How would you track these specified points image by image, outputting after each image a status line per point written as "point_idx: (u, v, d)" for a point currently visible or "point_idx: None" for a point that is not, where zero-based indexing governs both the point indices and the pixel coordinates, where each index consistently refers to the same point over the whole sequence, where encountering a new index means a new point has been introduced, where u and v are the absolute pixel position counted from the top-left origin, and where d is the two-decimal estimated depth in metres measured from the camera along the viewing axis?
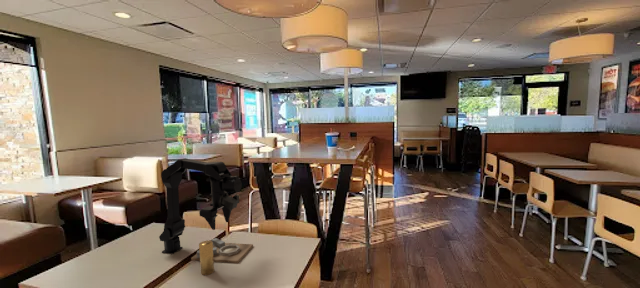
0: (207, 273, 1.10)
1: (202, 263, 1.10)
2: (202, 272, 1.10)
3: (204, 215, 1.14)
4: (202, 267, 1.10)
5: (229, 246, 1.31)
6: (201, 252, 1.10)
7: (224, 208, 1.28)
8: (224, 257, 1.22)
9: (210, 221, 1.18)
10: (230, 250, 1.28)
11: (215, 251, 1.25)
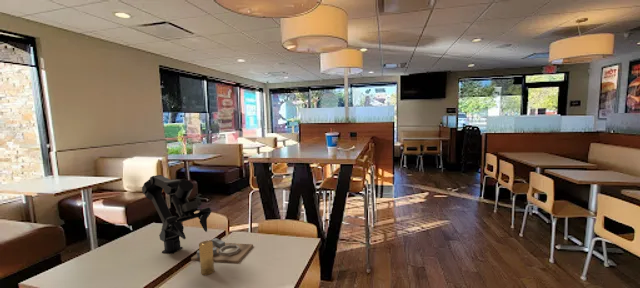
0: (207, 273, 1.10)
1: (202, 263, 1.10)
2: (202, 272, 1.10)
3: (165, 226, 1.12)
4: (202, 267, 1.10)
5: (229, 246, 1.31)
6: (201, 252, 1.10)
7: (200, 220, 1.23)
8: (224, 257, 1.22)
9: (178, 231, 1.14)
10: (230, 250, 1.28)
11: (215, 251, 1.25)
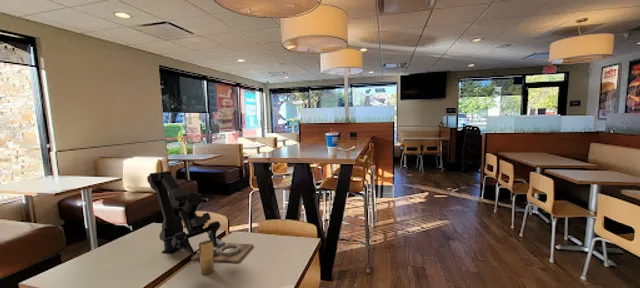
0: (207, 273, 1.10)
1: (202, 263, 1.10)
2: (202, 272, 1.10)
3: (174, 242, 1.08)
4: (202, 267, 1.10)
5: (229, 246, 1.31)
6: (201, 252, 1.10)
7: (209, 235, 1.19)
8: (224, 257, 1.22)
9: (186, 248, 1.10)
10: (230, 250, 1.28)
11: (215, 251, 1.25)
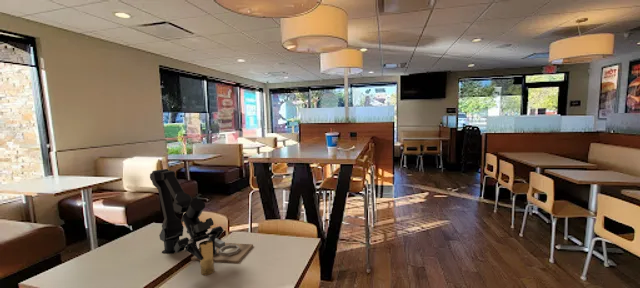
0: (207, 273, 1.10)
1: (202, 263, 1.10)
2: (202, 272, 1.10)
3: (177, 248, 1.07)
4: (202, 267, 1.10)
5: (229, 246, 1.31)
6: (201, 252, 1.10)
7: None
8: (224, 257, 1.22)
9: (194, 252, 1.10)
10: (230, 250, 1.28)
11: (215, 251, 1.25)
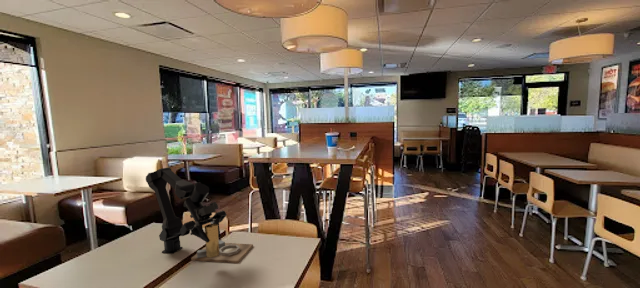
0: (213, 255, 1.13)
1: (208, 245, 1.12)
2: (208, 254, 1.13)
3: (183, 231, 1.09)
4: (208, 249, 1.12)
5: (229, 246, 1.31)
6: (207, 234, 1.12)
7: None
8: (224, 257, 1.22)
9: (200, 235, 1.12)
10: (230, 250, 1.28)
11: None
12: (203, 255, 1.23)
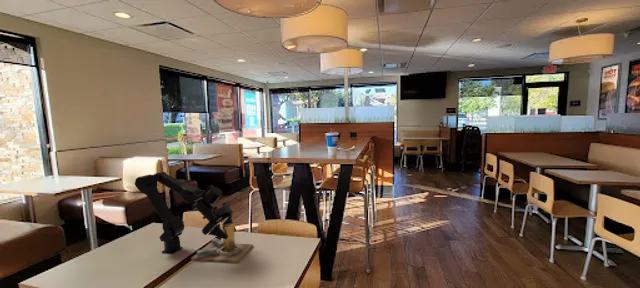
0: (232, 250, 1.26)
1: (228, 242, 1.25)
2: (227, 251, 1.26)
3: (207, 230, 1.18)
4: (228, 246, 1.25)
5: None
6: (227, 233, 1.25)
7: (225, 223, 1.32)
8: (224, 257, 1.22)
9: (218, 233, 1.22)
10: None
11: (215, 251, 1.25)
12: (203, 255, 1.23)
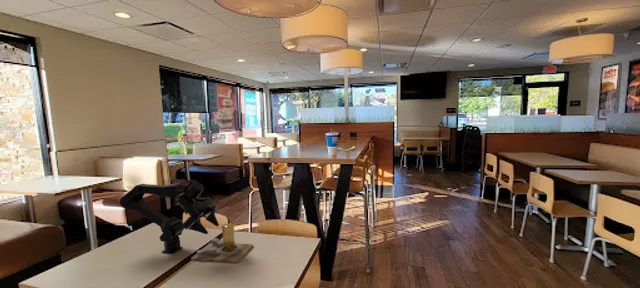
0: None
1: (228, 243, 1.25)
2: (227, 251, 1.26)
3: (188, 225, 1.20)
4: (228, 246, 1.25)
5: None
6: (227, 233, 1.25)
7: (208, 218, 1.34)
8: (224, 257, 1.22)
9: (199, 228, 1.23)
10: None
11: (215, 251, 1.25)
12: (203, 255, 1.23)
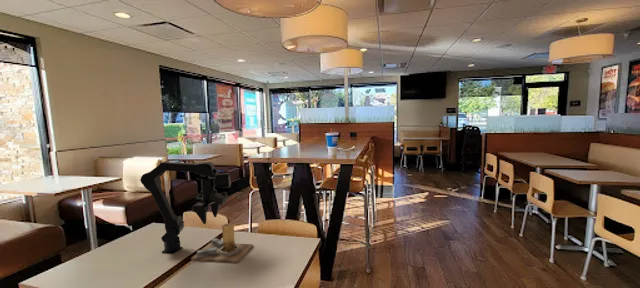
0: None
1: (228, 243, 1.25)
2: (227, 251, 1.26)
3: (197, 210, 1.25)
4: (228, 246, 1.25)
5: None
6: (227, 233, 1.25)
7: (212, 204, 1.39)
8: (224, 257, 1.22)
9: (201, 216, 1.29)
10: None
11: (215, 251, 1.25)
12: (203, 255, 1.23)
